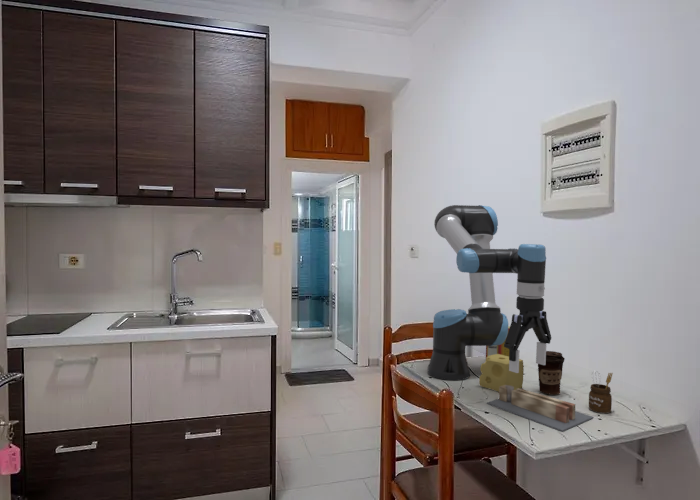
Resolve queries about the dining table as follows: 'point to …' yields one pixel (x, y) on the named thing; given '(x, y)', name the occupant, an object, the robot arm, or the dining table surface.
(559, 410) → the arm
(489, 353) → the baking soda box
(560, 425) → the mat
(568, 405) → the tongs swing arm
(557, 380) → the coffee cup
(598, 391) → the utensil holder
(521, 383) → the cheese
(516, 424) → the dining table surface
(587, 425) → the dining table surface
